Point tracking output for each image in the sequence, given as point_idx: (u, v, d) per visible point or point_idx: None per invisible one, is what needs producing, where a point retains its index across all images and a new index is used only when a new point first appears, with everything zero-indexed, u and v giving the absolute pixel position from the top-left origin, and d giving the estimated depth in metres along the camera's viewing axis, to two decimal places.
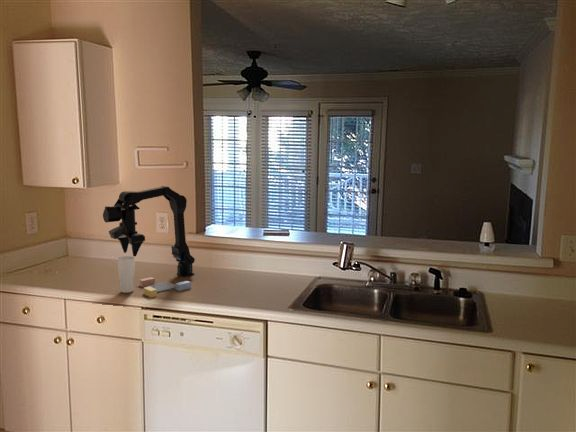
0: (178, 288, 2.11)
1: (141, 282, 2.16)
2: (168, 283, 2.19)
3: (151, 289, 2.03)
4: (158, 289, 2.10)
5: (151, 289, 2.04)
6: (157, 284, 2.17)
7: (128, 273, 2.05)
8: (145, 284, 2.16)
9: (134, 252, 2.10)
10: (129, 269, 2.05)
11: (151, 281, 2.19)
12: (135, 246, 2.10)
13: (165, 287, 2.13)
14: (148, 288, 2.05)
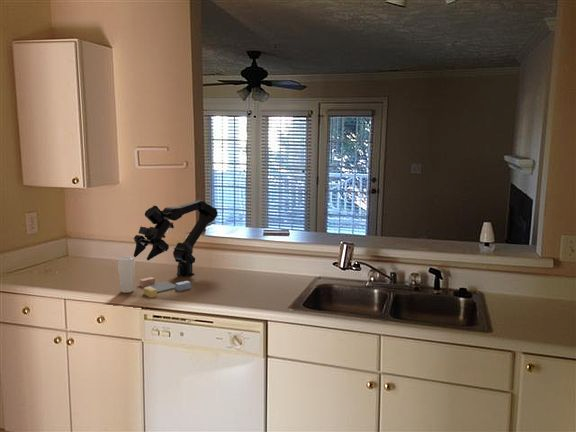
0: (178, 287, 2.11)
1: (141, 282, 2.16)
2: (168, 283, 2.19)
3: (151, 289, 2.03)
4: (158, 289, 2.10)
5: (151, 289, 2.04)
6: (157, 284, 2.17)
7: (128, 273, 2.05)
8: (145, 284, 2.16)
9: (150, 256, 2.11)
10: (129, 269, 2.05)
11: (151, 281, 2.19)
12: (154, 251, 2.12)
13: (165, 287, 2.13)
14: (148, 288, 2.05)
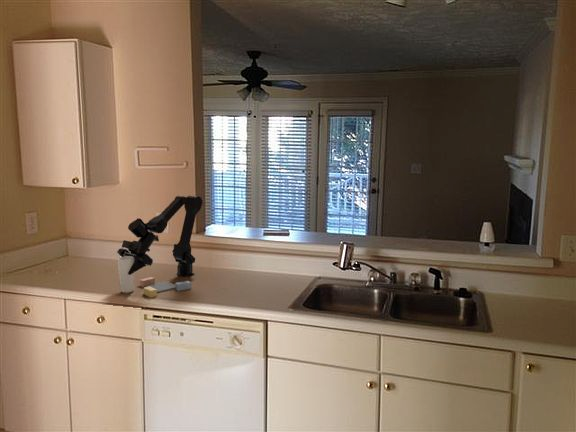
0: (177, 287, 2.11)
1: (141, 282, 2.16)
2: (168, 283, 2.19)
3: (151, 289, 2.03)
4: (158, 289, 2.10)
5: (151, 289, 2.04)
6: (157, 284, 2.17)
7: None
8: (145, 284, 2.16)
9: (131, 270, 2.05)
10: (129, 269, 2.05)
11: (151, 280, 2.19)
12: (136, 265, 2.06)
13: (165, 287, 2.13)
14: (148, 288, 2.05)
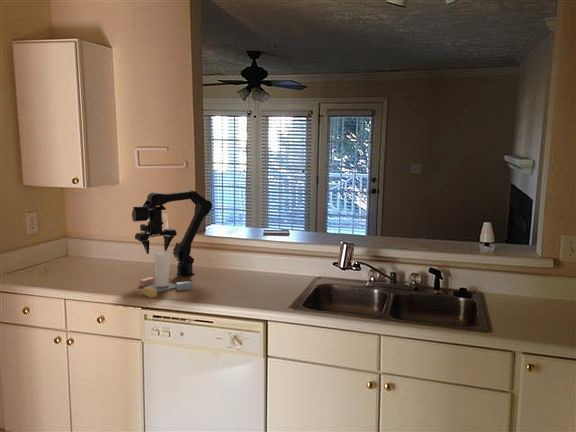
0: (177, 287, 2.11)
1: (142, 282, 2.16)
2: None
3: (151, 289, 2.03)
4: (158, 289, 2.10)
5: (151, 288, 2.04)
6: None
7: (166, 268, 2.12)
8: (146, 284, 2.16)
9: None
10: (167, 264, 2.12)
11: (151, 280, 2.19)
12: (145, 244, 2.21)
13: (165, 287, 2.13)
14: (148, 288, 2.05)
